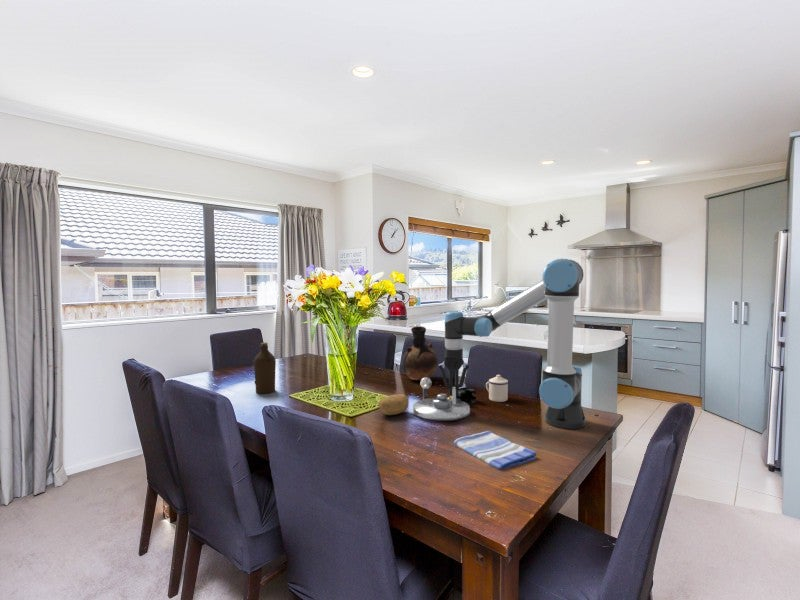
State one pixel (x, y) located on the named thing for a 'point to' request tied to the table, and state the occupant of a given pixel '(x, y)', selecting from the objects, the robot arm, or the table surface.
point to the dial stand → (425, 386)
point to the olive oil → (264, 371)
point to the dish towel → (495, 450)
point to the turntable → (441, 410)
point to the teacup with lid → (498, 389)
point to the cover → (442, 402)
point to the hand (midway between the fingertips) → (453, 403)
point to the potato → (393, 404)
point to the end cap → (466, 395)
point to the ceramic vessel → (419, 356)
